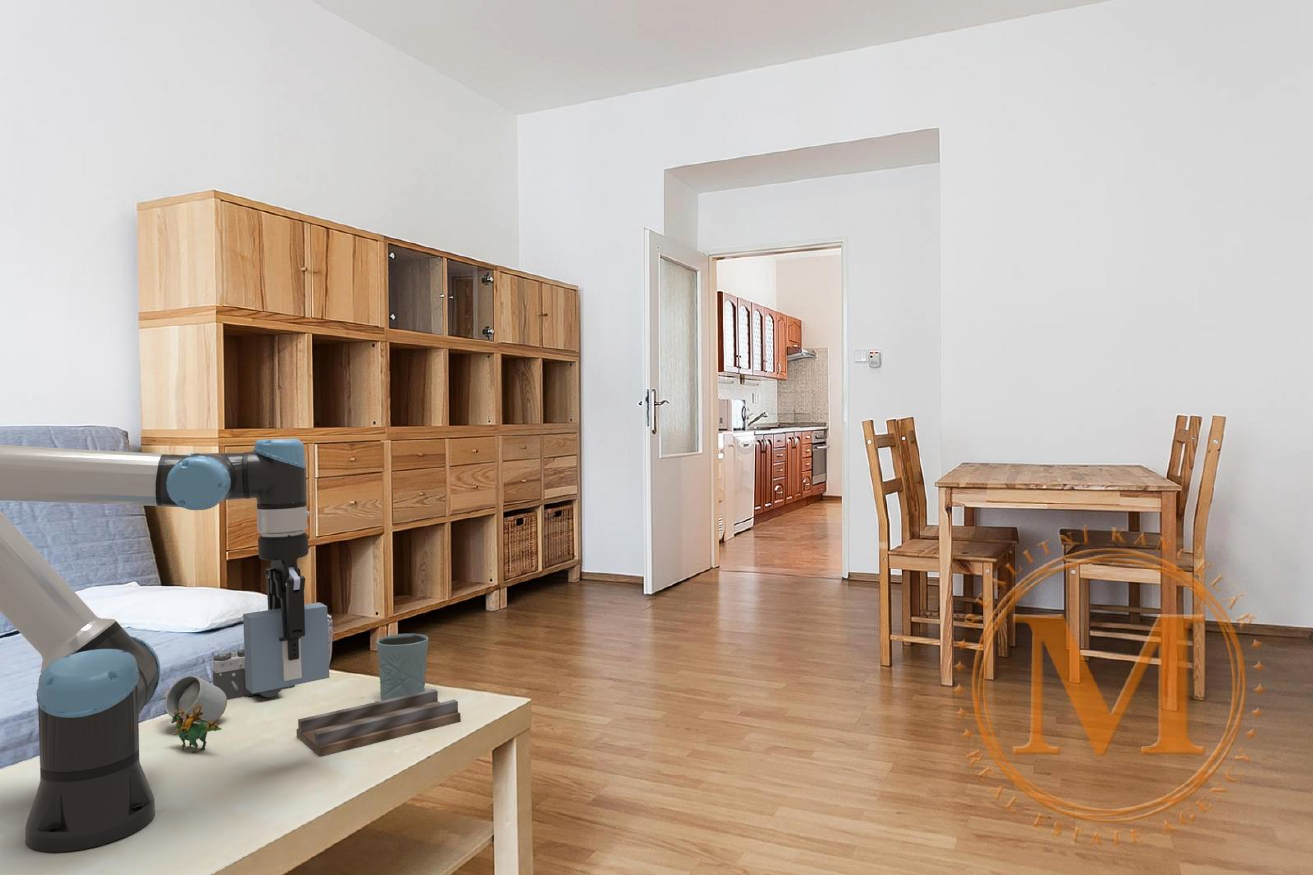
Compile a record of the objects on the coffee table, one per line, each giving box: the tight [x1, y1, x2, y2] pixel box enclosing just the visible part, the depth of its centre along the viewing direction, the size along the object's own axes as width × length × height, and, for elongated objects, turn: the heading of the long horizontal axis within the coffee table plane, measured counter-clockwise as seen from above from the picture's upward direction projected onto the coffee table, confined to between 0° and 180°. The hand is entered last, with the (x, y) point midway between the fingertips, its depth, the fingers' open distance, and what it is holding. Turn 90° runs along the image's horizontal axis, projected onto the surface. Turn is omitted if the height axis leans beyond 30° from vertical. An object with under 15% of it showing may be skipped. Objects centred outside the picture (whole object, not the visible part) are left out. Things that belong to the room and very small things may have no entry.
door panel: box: [242, 602, 330, 694], centre depth 143 cm, size 12×4×12 cm, turn 129°
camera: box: [212, 648, 296, 701], centre depth 179 cm, size 16×10×10 cm, turn 129°
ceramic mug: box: [162, 674, 228, 724], centre depth 163 cm, size 11×8×8 cm
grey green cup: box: [375, 633, 429, 701], centre depth 178 cm, size 10×10×12 cm
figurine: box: [170, 705, 223, 754], centre depth 150 cm, size 3×12×8 cm, turn 67°
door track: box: [296, 688, 462, 757], centre depth 160 cm, size 26×12×4 cm, turn 130°
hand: (288, 675), depth 143 cm, fingers closed on door panel, 4 cm apart
